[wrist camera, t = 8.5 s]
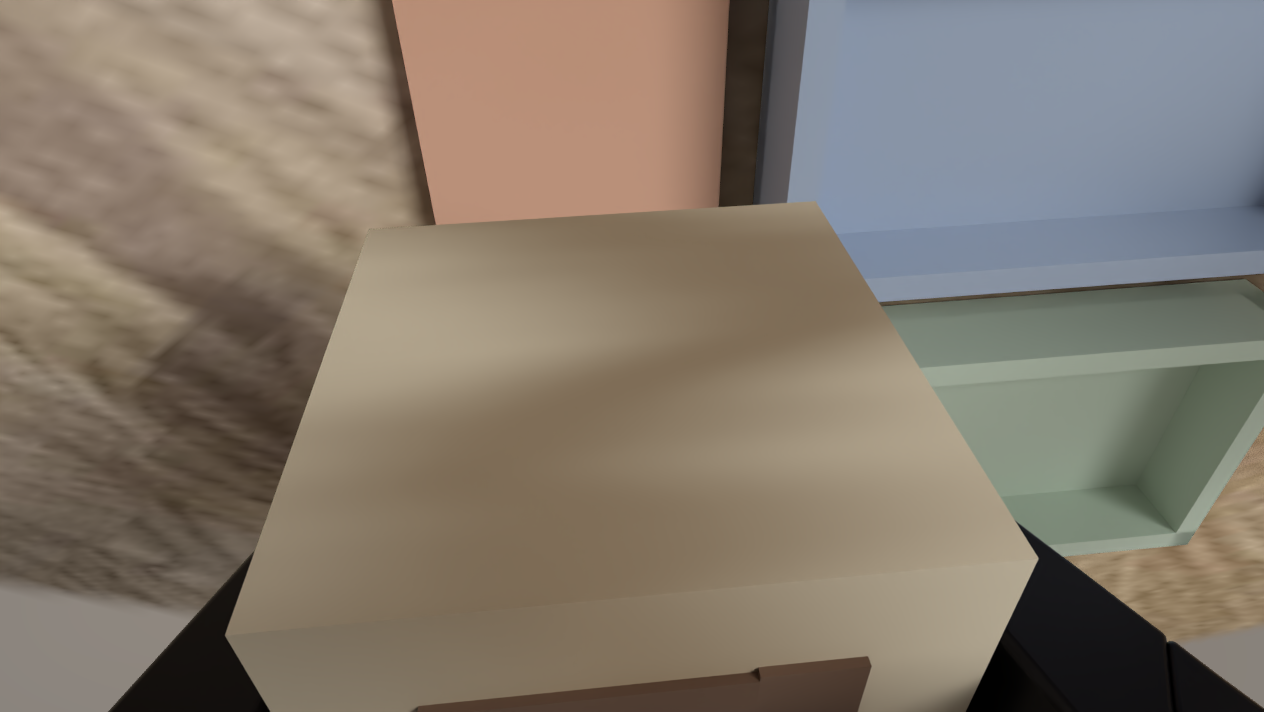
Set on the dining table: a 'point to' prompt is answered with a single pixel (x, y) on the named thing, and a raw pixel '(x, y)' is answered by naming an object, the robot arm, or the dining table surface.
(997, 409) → the green tray
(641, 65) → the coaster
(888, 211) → the slate tray
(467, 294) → the letter cube
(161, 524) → the dining table surface
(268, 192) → the dining table surface
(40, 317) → the dining table surface
